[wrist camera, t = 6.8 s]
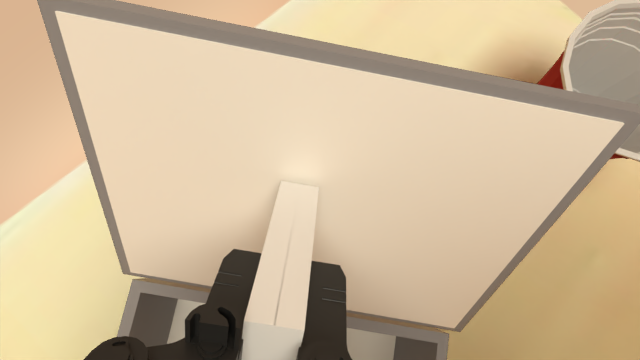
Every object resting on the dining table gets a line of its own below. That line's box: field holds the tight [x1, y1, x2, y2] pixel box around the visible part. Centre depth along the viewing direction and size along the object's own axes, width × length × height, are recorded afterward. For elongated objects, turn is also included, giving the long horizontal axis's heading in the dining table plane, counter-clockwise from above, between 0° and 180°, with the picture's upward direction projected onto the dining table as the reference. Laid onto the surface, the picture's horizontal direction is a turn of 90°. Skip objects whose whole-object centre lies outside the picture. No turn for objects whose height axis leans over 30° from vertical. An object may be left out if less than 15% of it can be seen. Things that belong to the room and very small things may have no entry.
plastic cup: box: [537, 0, 640, 162], centre depth 30 cm, size 11×11×12 cm
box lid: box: [37, 0, 640, 332], centre depth 17 cm, size 19×14×1 cm
